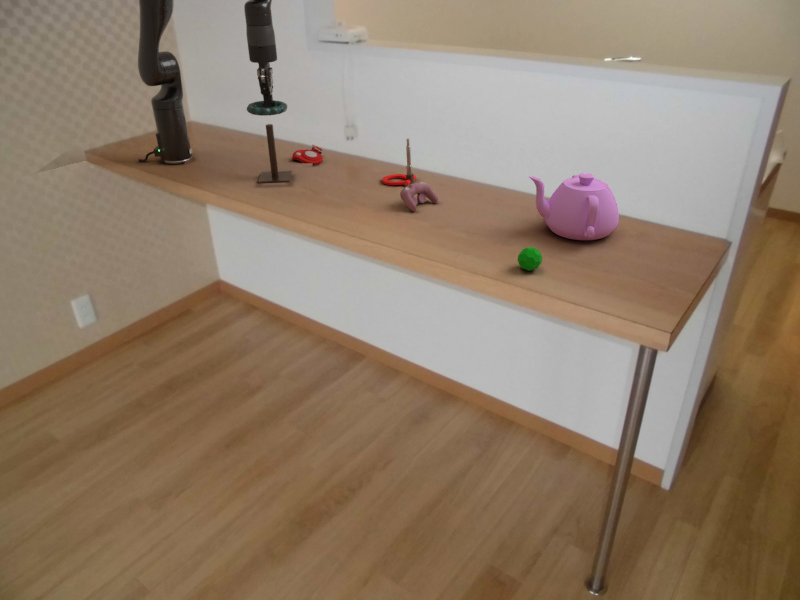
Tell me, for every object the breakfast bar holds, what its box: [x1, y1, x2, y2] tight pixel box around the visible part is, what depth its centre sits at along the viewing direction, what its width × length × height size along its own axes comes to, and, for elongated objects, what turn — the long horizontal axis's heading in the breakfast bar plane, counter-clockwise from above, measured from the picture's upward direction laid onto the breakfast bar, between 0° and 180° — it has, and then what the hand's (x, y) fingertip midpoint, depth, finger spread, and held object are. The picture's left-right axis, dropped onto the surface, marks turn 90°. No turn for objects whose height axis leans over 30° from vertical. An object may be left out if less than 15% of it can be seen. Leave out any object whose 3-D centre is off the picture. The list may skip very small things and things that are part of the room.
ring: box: [246, 99, 288, 117], centre depth 172 cm, size 11×11×2 cm
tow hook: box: [381, 138, 417, 187], centre depth 177 cm, size 8×13×9 cm
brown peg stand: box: [257, 123, 293, 185], centre depth 178 cm, size 9×9×16 cm
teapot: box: [528, 172, 620, 241], centre depth 144 cm, size 22×22×14 cm
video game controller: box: [399, 181, 439, 213], centre depth 162 cm, size 10×5×7 cm, turn 135°
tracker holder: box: [291, 144, 324, 166], centre depth 199 cm, size 12×4×10 cm
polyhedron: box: [517, 246, 543, 272], centre depth 129 cm, size 5×5×5 cm
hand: (269, 107), depth 176 cm, fingers closed on ring, 2 cm apart
